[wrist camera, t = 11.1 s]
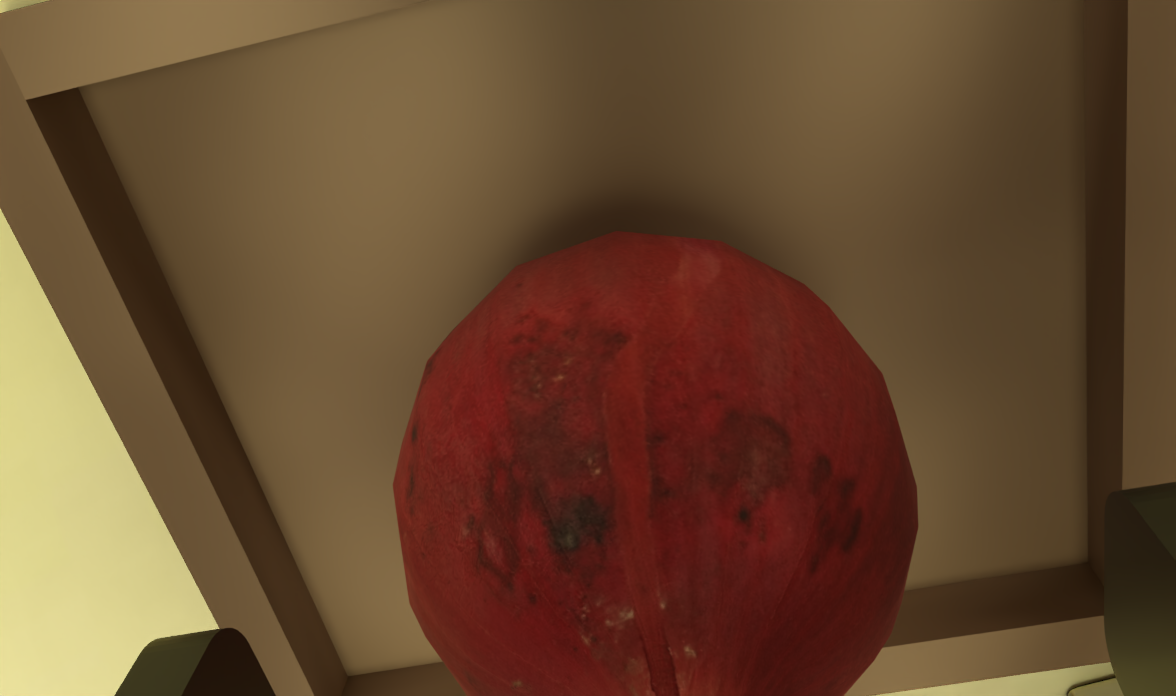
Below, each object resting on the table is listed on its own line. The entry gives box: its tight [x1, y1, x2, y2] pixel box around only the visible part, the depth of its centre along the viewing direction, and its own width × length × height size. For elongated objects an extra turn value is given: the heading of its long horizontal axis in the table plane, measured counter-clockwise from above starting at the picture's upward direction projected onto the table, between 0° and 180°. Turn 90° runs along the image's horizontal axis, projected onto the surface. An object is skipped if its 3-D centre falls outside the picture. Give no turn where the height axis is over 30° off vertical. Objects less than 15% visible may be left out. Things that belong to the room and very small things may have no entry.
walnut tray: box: [0, 0, 1176, 696], centre depth 14 cm, size 15×13×2 cm
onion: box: [393, 231, 918, 696], centre depth 11 cm, size 6×6×8 cm
